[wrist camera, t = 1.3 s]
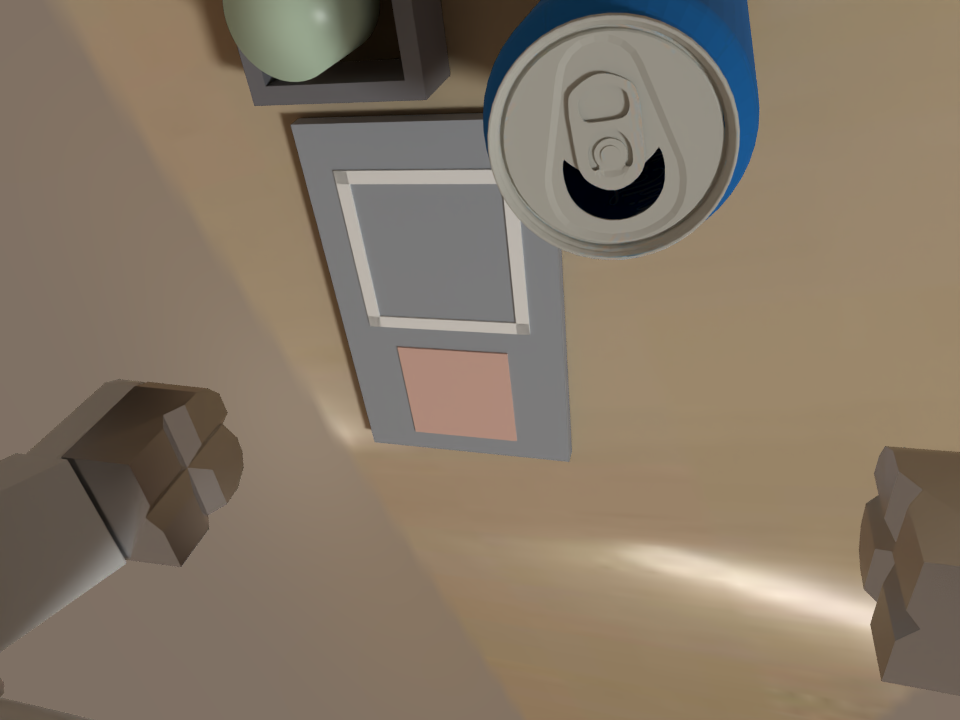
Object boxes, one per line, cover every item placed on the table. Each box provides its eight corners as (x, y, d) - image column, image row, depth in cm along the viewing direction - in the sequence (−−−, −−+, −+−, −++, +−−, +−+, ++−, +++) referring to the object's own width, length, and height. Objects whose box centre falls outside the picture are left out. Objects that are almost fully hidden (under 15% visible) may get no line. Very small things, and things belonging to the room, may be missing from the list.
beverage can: (572, 125, 28) (501, 284, 19) (541, -61, 25) (437, 25, 16) (749, 99, 26) (764, 264, 17) (743, -109, 23) (757, -42, 14)
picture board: (298, 118, 31) (289, 125, 31) (554, 110, 28) (549, 118, 28) (379, 432, 42) (374, 443, 41) (571, 451, 39) (569, 462, 38)
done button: (259, -66, 25) (205, -49, 23) (367, -78, 24) (322, -61, 21) (290, 55, 28) (244, 84, 25) (389, 50, 26) (351, 79, 24)
